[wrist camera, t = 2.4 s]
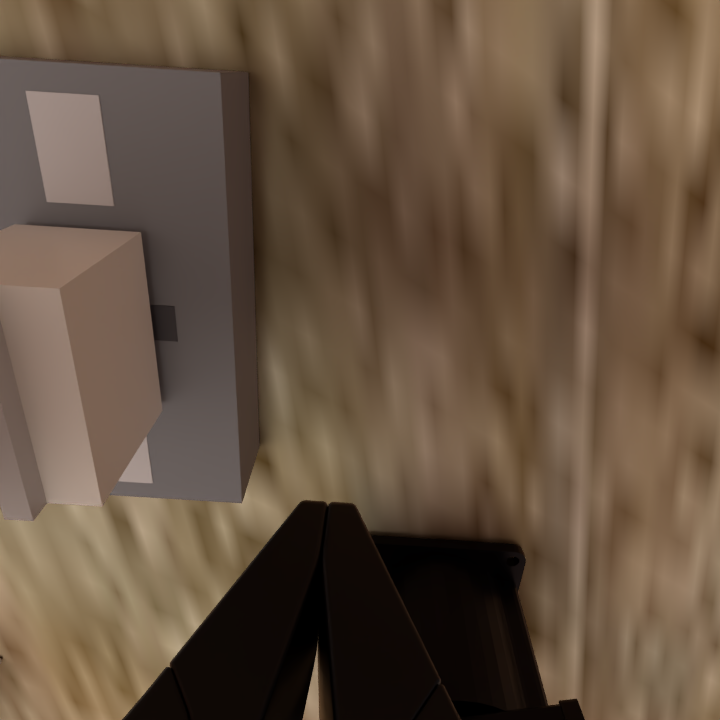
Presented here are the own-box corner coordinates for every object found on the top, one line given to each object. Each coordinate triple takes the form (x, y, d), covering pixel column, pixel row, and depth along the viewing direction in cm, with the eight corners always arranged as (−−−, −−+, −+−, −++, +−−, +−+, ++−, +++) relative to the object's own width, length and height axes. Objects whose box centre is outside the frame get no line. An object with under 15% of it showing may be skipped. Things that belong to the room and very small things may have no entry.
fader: (140, 232, 13) (43, 299, 10) (162, 410, 16) (90, 524, 12) (15, 224, 13) (-136, 289, 10) (54, 403, 16) (-53, 515, 12)
